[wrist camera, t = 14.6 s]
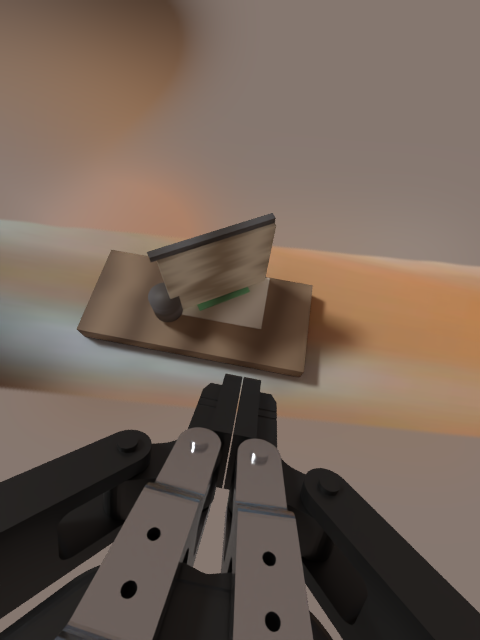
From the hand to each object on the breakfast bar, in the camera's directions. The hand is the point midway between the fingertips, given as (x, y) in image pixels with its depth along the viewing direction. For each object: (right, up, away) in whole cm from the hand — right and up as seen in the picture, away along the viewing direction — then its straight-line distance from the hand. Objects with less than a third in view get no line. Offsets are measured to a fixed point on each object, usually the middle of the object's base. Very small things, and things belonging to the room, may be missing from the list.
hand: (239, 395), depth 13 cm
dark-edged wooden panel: (-3, +6, +21) cm, 22 cm away
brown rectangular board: (-4, +4, +23) cm, 24 cm away
